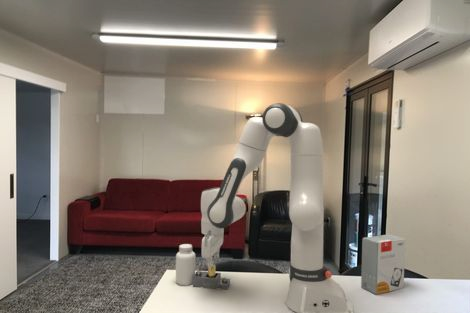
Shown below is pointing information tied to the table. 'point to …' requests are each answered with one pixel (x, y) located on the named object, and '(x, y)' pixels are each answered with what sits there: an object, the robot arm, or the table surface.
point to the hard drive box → (382, 263)
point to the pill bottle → (185, 265)
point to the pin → (211, 271)
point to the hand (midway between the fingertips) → (213, 262)
